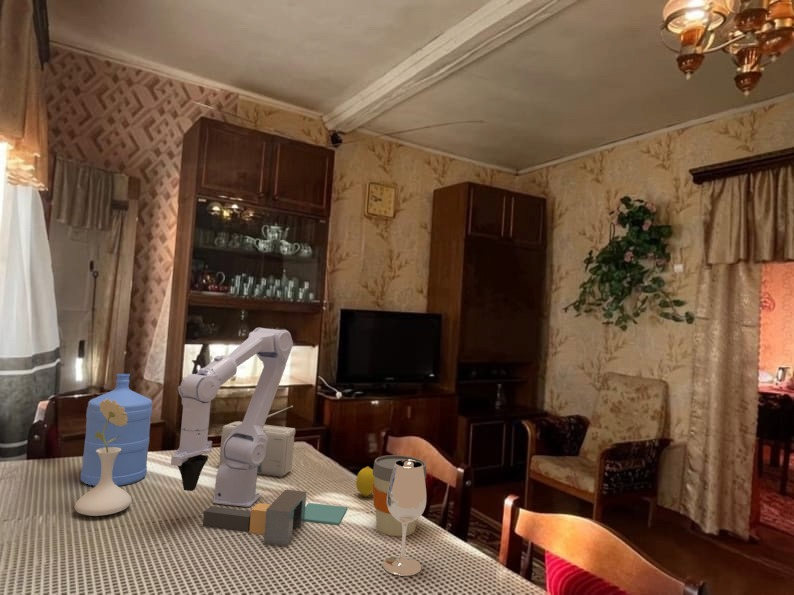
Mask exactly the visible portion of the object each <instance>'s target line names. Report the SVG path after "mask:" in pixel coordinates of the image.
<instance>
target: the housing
mask: <svg viewBox="0 0 794 595" xmlns="http://www.w3.org/2000/svg"><path fill="white" fill-rule="evenodd" d="M306 502H307V491H301V490H293V489H285V490H283V492H281V493H280V495H278V496H277V498H276V499H275V500H274V501H273V502H272V503H271V505H270V506H269V507H268V508H267V509H266V521H265V533H264V535H263V536H264V538H263V544H264V545H271V546H278V547H279V546H280V547H288V546H289V545H290V543H291V542H292V540H293V538H292V537H293V528H299V529H300V528H302V526H303V525H304V524H305V521H304V518H305V507H306V505H307V504H306Z"/></svg>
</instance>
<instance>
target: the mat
mask: <svg viewBox="0 0 794 595" xmlns="http://www.w3.org/2000/svg"><path fill="white" fill-rule="evenodd" d="M347 511H348V506H341V505H340V506H339V505H330V504H324V503H313V502H312V503H311V502H308V503H307V504H306V505H305V518H304V522H309V523H317V524H325V525H326V524H327V525H333V526H334V525H335V526H336V525H337V526H340V524H341V522H342V520H343V519H344V517H345V515H346V513H347Z"/></svg>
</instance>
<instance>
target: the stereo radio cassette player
mask: <svg viewBox="0 0 794 595" xmlns="http://www.w3.org/2000/svg"><path fill="white" fill-rule="evenodd" d="M293 407H294V406H293V405H290V406H289V407H286V408H283V409H281V410H278V411H276V412H274V413H271V414H268V416H267V418H270V417H272V416H274V415H276V414H279V413H281V412H284V411H285V410H288V409H289V408H293ZM242 422H243V421H240V420H239V421H233V422H230V423H228V424H225V425H223V426H222V431H221V439H220V440H221V441H220V452H219V453H220V454H219V466H220V465H221V464H222V463H226V459H225V458H224V457H223V454H222V448H223V444H224V442H225V441H226V439H227V438H228V437H229V435H230V434H231V431H232V429H233V428H235V427H236V426H238V425H240V424H241V423H242ZM263 431H264V433H265V434H266V436H267V437H268V442H267V445H266V454H265V457H264V459H263V461H262V462H261V463H260V466H258V469H257V474H260V475H261V474H262V475H267V476H275V477H279V478H282V477H284V476H285V475H286V474H288V473H289V472H290V471H291V470H292V468H293V458H294V457H293V456H294V446H295V435H296V428H295V427H286V426H279V425H270V424H264V427H263ZM246 438H248V439H253V438H249V437H246Z"/></svg>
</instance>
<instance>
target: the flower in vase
mask: <svg viewBox="0 0 794 595" xmlns="http://www.w3.org/2000/svg"><path fill="white" fill-rule="evenodd" d="M120 407H121V406H120V405H119V404H117V403H116V401H115V400H113V402H111V401H110V399H105V401H102V403H101V402H100V411H101V412H102V413H103V415H104V416H105V417H106V419H107V421H106V423H105V426H104V428H103V432H102V434H101V433H100V432H98V431H97V433H96V435H95V436H94V437H96V438H99V439H100V440H102V441H103V440H104V443H105V448H100V449H98V450H96V452H97V453H98V455H99V456H100V459H101V478H100V481H99V483H98V484H97V485H96V486H93V488H91V489H90V490H88V491H87V492H86V493H85V494H83V495H82V496H81V497H80V498H79V499H77V501H76V502H75V505H74V509H75V511H76V512H77V513H78V514H81V515H84V516H92V517H99V516H108V515H112V514H116V513H119V512H122V511H124V510H125V509H128V507H130V505H131V504H132V502H133V500H132V499H133V498H132V496H131V495H130V494H129V493H128V492H127V491H125V490H124V489H122V487H121V486H117V485H115V484H114V482H113V480H112V471H113V465H114V461H115V458H116V456H117V455H118V453H119V452H120V451H121V448H117V447H107V443H109V442H111V441H113V440H115V439H116V438H114V439H112V440H110V441H108V442H107V443H106V441H105V437H104V430H105V427H106V425H107V423H108V421H110V422H111V423H114V424H115V425H116V426H120V427H122V426H124V425H127V420H128V418H127V414H126V413H125V412H124V411H125V409H124V408H120ZM118 437H119V436H118ZM118 437H117V438H118Z"/></svg>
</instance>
